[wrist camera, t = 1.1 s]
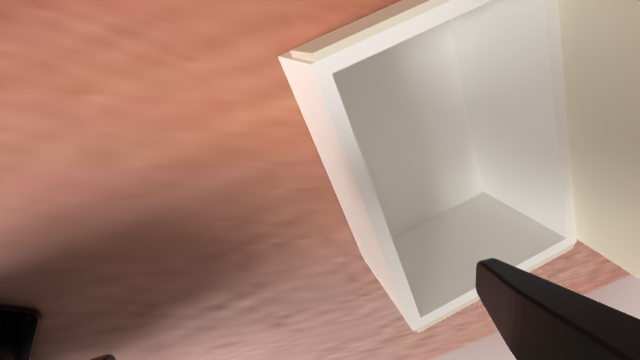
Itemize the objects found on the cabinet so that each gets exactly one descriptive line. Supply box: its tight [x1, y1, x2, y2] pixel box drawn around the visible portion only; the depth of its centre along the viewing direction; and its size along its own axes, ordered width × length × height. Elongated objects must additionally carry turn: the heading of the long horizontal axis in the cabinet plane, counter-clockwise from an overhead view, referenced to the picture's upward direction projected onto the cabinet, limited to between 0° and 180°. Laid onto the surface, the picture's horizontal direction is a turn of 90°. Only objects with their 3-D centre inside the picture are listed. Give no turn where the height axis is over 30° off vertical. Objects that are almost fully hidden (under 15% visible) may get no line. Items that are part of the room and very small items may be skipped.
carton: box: [278, 0, 577, 333], centre depth 19 cm, size 10×15×7 cm
